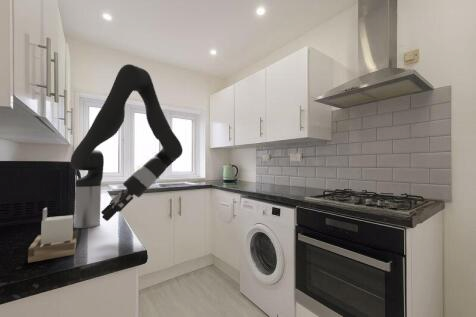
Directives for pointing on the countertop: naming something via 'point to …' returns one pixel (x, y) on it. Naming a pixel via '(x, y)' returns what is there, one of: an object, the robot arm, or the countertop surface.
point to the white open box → (56, 229)
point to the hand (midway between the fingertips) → (103, 216)
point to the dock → (51, 249)
